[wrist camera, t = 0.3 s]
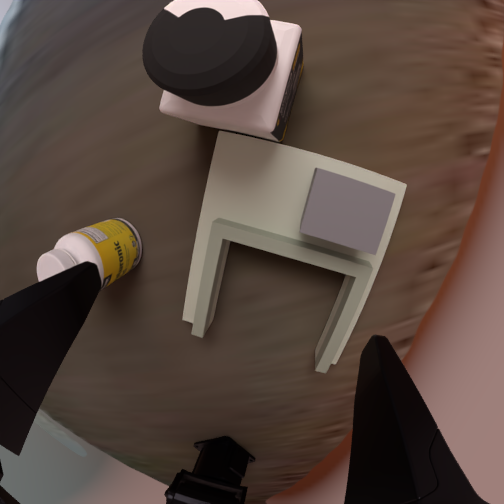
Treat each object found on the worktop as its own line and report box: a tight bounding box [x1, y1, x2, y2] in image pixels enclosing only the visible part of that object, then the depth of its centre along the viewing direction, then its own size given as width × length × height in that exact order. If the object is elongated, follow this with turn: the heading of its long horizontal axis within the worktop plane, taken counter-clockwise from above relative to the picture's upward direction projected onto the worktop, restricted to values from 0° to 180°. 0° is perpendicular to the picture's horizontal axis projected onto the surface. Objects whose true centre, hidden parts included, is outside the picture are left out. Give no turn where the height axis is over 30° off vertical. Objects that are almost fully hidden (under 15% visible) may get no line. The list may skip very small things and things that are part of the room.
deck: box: [183, 131, 407, 373], centre depth 21 cm, size 16×14×6 cm
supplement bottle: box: [37, 218, 142, 292], centre depth 22 cm, size 5×5×10 cm
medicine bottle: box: [143, 0, 303, 142], centre depth 15 cm, size 7×7×12 cm
